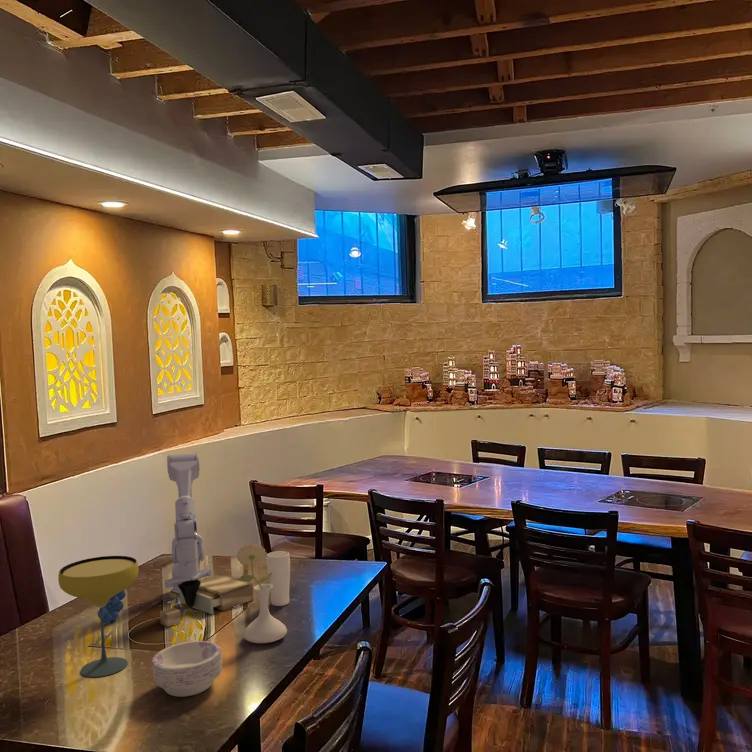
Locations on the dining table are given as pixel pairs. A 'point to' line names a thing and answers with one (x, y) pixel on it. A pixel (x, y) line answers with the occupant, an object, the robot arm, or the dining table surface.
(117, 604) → the grapes
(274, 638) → the flower in vase
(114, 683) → the dining table surface
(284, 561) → the white cylinder
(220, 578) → the housing
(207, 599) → the pull-out drawer
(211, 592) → the rounded lump
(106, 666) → the cocktail glass
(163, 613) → the block
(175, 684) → the paper bowls
